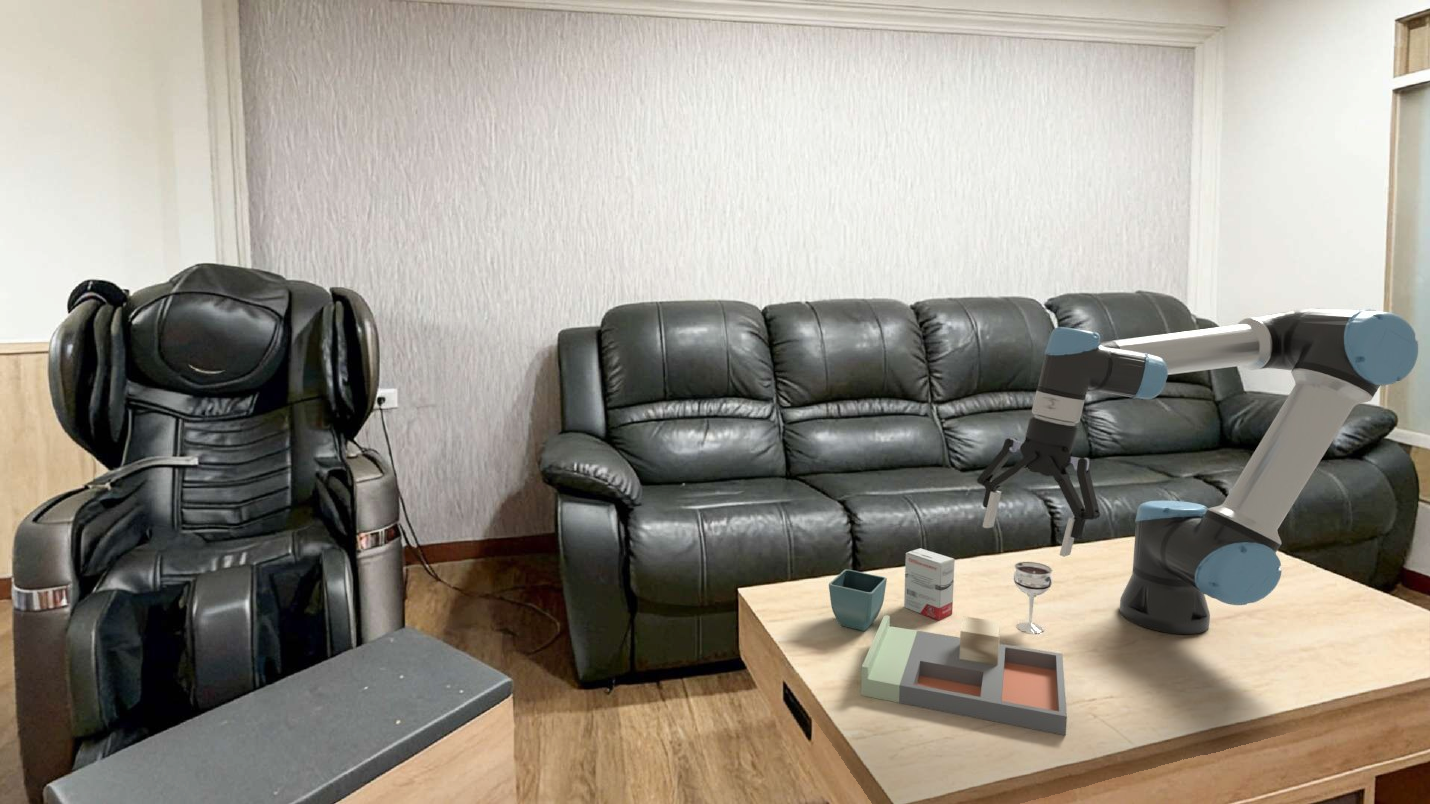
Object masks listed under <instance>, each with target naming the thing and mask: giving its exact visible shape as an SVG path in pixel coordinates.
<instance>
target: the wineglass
mask: <svg viewBox="0 0 1430 804" xmlns="http://www.w3.org/2000/svg"><path fill="white" fill-rule="evenodd" d="M1013 567H1014V569H1015V571H1014V573H1013V581H1014V584H1015V586H1016V587H1017V588H1018V590H1020V592H1022V593H1024V594H1026V595H1027V597H1028V598H1029V603H1028V604H1029V607H1028V608H1029V610H1028V611H1029V614H1028V621H1022V623H1021V622H1018V623H1019V624H1018V623H1017V624H1016V625H1015V628H1016V629H1017V628H1019V629H1020V630H1019V629H1018V630H1019V631H1020V632H1022V631H1026V632H1029V633H1030V635H1031V634H1032V635H1039V634H1038V633H1040V632H1041V631H1044V632H1045V629H1044V630H1043V629H1042V628H1044V627H1043V626H1042V627H1041V625H1040V626H1039V623H1038V624H1037V623H1034V622H1032V620H1033V611H1034V600H1035V598H1036V597H1037V596H1042V595H1044V594H1045V593H1046V592H1048V591H1049V590H1050V588H1051V587H1052V584H1053V578H1052V573H1053V569H1052V567H1050V565H1046V564H1043V563H1040V562H1035V561H1020V562H1017V563H1015V564H1014V566H1013ZM1016 626H1017V627H1016ZM1029 633H1028V634H1029ZM1035 633H1037V634H1035ZM1040 634H1041V633H1040Z"/></svg>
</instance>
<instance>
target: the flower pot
mask: <svg viewBox="0 0 1430 804" xmlns="http://www.w3.org/2000/svg"><path fill="white" fill-rule="evenodd" d="M887 579H888V578H887V577H886V576H881V575H877V574H876V575H875V574H871V573H867V572H865V573H864V572H861V571H858V570H852V569H844V570H843V571H841V572H840V573H839V574H838V575H837V576H836V577H835V578H834V579H833V580H831V581H830V582H829V583H828V589H829V590H828V591H829V597H830V599H829V600H830V605H831V609H832V613H833V615H834V617H835V619H836V620H837V622H838V624H840V626H842V627H846V628H850V629H854V630H859V631H862V632H863V631H865V632H866V631H867V630H868V629H869V627H870V626H871V625H872V624H873V623H874V621H875V620H876V619H877V617H878V616H879V614H880V612H881V609H882V607H883V604H884V600H885V594H886V587H887V582H888V581H887Z"/></svg>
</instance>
